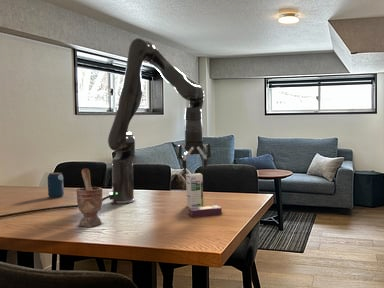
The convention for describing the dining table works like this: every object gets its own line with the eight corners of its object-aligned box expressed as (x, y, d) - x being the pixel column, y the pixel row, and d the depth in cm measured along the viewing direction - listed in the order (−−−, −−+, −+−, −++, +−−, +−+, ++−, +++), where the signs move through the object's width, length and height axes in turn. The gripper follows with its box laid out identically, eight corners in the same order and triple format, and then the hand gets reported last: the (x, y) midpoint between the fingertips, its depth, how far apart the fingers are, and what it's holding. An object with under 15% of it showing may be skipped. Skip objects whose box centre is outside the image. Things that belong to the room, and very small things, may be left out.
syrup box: (190, 208, 164) (190, 175, 163) (186, 206, 169) (185, 173, 168) (203, 207, 166) (202, 174, 166) (198, 204, 172) (198, 172, 171)
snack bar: (192, 217, 149) (192, 210, 149) (189, 214, 154) (189, 207, 154) (221, 213, 155) (221, 207, 154) (217, 211, 159) (217, 205, 159)
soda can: (66, 196, 193) (66, 172, 192) (53, 198, 187) (52, 174, 187) (58, 195, 197) (58, 171, 196) (45, 197, 191) (44, 173, 190)
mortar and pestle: (68, 223, 140) (66, 169, 139) (90, 219, 147) (88, 167, 146) (86, 228, 134) (84, 171, 133) (108, 223, 141) (106, 169, 140)
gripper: (206, 130, 172) (207, 166, 173) (175, 131, 166) (176, 168, 167) (212, 130, 166) (212, 168, 166) (179, 131, 160) (180, 170, 160)
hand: (194, 168), depth 167 cm, fingers open, 8 cm apart
